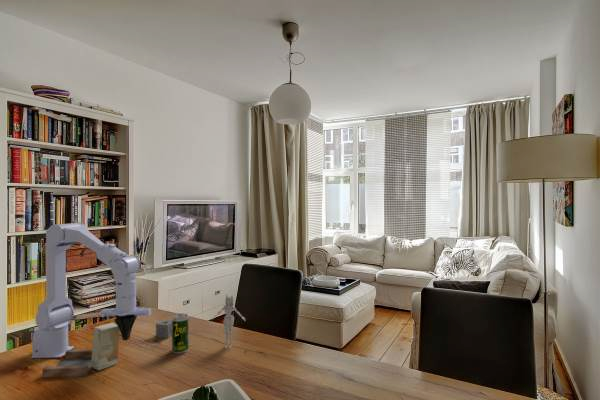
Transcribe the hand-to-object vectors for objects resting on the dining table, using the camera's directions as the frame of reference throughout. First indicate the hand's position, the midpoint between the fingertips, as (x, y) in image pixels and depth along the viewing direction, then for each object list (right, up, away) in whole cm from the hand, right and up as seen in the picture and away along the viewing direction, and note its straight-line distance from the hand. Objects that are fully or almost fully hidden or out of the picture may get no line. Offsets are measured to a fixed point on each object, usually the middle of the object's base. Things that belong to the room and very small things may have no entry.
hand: (126, 338), depth 114 cm
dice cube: (+3, -8, +24) cm, 26 cm away
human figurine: (+29, -9, +15) cm, 34 cm away
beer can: (+13, -8, +11) cm, 19 cm away
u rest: (-15, -8, -1) cm, 17 cm away
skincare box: (-7, -8, 0) cm, 11 cm away
